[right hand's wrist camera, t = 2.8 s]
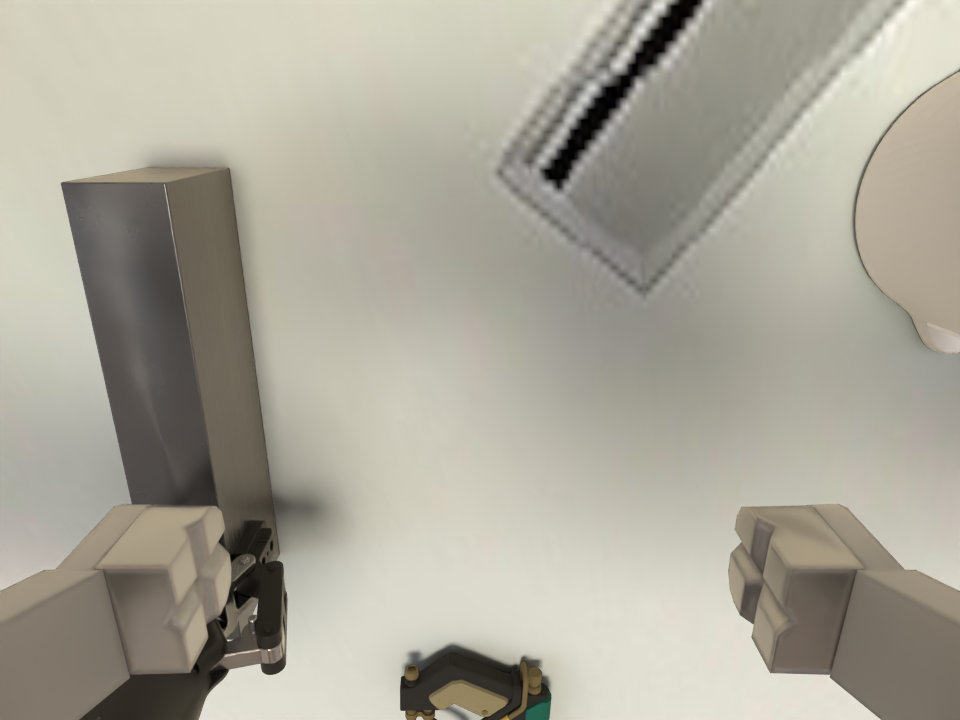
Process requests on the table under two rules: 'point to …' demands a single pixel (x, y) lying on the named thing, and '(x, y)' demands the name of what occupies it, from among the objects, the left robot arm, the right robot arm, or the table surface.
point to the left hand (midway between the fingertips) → (220, 532)
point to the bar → (175, 341)
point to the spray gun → (474, 690)
